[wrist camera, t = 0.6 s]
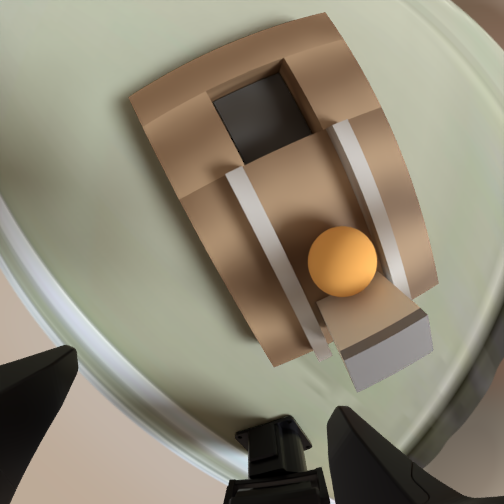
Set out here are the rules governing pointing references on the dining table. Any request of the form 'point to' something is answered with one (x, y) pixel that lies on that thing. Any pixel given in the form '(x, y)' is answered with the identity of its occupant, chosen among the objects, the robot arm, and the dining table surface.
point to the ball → (342, 261)
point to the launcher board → (285, 173)
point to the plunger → (376, 331)
